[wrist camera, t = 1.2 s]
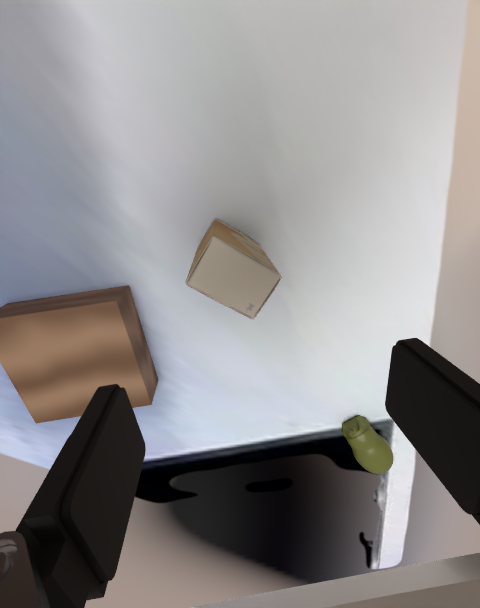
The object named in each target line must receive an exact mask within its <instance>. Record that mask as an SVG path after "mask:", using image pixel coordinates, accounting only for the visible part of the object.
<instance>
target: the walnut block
mask: <svg viewBox="0 0 480 608" xmlns="http://www.w3.org/2000/svg"><path fill="white" fill-rule="evenodd" d="M0 363H1V364H2V366H3V368H4V370H5V371H6V373H7V375H8V376H9V378H10V380H11V382H12V383H13V385H14V387H15V388H16V390H17V392H18V394H19V395H20V397H21V399H22V400H23V402H24V404H25V406H26V407H27V409H28V411H29V412H30V414H31V416H32V418H33V419H34V421H35V423H41V422H47V421H53V420H60V419H66V418H72V417H78V416H82V415H83V413H84V411H85V409H86V407H87V406H88V404H89V402H90V400H91V399H92V397H93V395H94V393H95V391H96V390H97V388H98V387H100V386H106V385H112V384H118V385H119V386H120V388H122V387H124V388H125V390H126V392H127V395H128V398H129V400H130V403H131V406H132V408H134V407H140V406H147V405H151V404H152V401H153V397H154V394H155V390H156V386H157V383H158V378H157V374H156V371H155V368H154V365H153V361H152V358H151V355H150V352H149V348H148V345H147V342H146V339H145V335H144V332H143V329H142V326H141V323H140V319H139V316H138V313H137V310H136V306H135V303H134V300H133V297H132V293H131V290H130V287H129V286H122V287H115V288H109V289H102V290H95V291H88V292H82V293H75V294H68V295H62V296H55V297H48V298H41V299H35V300H28V301H21V302H14V303H8V304H6V305H4V306H2V307H1V308H0Z"/></svg>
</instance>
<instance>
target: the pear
mask: <svg viewBox="0 0 480 608" xmlns="http://www.w3.org/2000/svg"><path fill="white" fill-rule="evenodd" d="M342 428H343V429H342V433H343V435H344V436H345V437H346V439H347V441H348V443H349V444H350V446H351V447H352V450H353V454H354V456H355V458H356V459H357V461H358V462H359V463H360V464H361V465H362V466H363V467H364V468H365V469H367V470H368V471H370V472H372V473H377V474H379V473H384V472H386V471H388V470H389V469H390V468H391V466H392V464H393V453H392V450H391V448H390V446H389V444H388V443H387V441H386V440H385V439H384V438H383V437H382V436H380V435H379V434H377V433H376V432H375V431H374V429H373V428H372V427H371V426H370V423H369V422H368V420H367V419H366V418H363V417H361V416H356V417H355V418H353V419H351V420H348V421H347V422H345V423H343V424H342Z"/></svg>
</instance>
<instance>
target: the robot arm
mask: <svg viewBox="0 0 480 608" xmlns="http://www.w3.org/2000/svg"><path fill="white" fill-rule="evenodd" d="M385 406H386V410H387V412H388V414H389V415H390V417H391V418H392V419H393V420H394V422H395V423H396V424H397V426H398V427H399V428H400V430H401V431H402V432H403V433H404V435H405V436H406V437H407V439H408V440H409V441H410V442H411V444H412V445H413V446H414V448H415V449H416V450H417V451H418V453H419V454H420V455H421V457H422V458H423V459H424V460H425V462H426V463H427V464H428V466H429V467H430V468H431V469H432V471H433V472H434V473H435V475H436V476H437V477H438V479H439V480H440V481H441V482H442V484H443V485H444V486H445V488H446V489H447V490H448V491H449V493H450V494H451V495H452V497H453V498H454V499H455V500H456V502H457V503H458V504H459V506H460V507H461V508H462V509H463V510H464V511H465V512H466V513H468V514H472V516H473V517H474V518H475V519H476V521H477V522H478V523H479V524H480V384H479V383H478V382H476V381H475V380H474V379H472V378H471V377H470V376H468V375H467V374H465V373H464V372H463V371H461V370H460V369H459V368H457V367H456V366H454V365H453V364H452V363H451V362H449V361H448V360H446V359H445V358H444V357H442V356H441V355H440V354H438V353H437V352H436V351H434V350H433V349H432V348H430V347H429V346H428V345H426V344H425V343H424V342H422V341H421V340H419V339H417V338H411V339H405V340H399V341H398V342H397V343H396V345H395V346H393V348H392V354H391V362H390V370H389V378H388V386H387V394H386V401H385ZM144 457H145V442H144V439H143V437H142V434H141V431H140V428H139V425H138V423H137V420H136V417H135V414H134V412H133V409H132V406H131V403H130V400H129V398H128V395H127V392H126V390H125V388H124V387H122V388H120V386H119V385H118V384H112V385H106V386H100V387H98V388H97V390H96V391H95V393H94V395H93V397H92V399H91V400H90V402H89V404H88V406H87V407H86V409H85V411H84V413H83V415H82V416H81V418H80V420H79V422H78V423H77V425H76V427H75V429H74V430H73V432H72V434H71V435H70V436H69V438H68V439H67V441H66V443H65V444H64V446H63V448H62V450H61V451H60V453H59V455H58V457H57V458H56V460H55V462H54V464H53V465H52V467H51V469H50V471H49V473H48V474H47V476H46V478H45V480H44V481H43V484H42V485H41V487H40V488H39V490H38V492H37V494H36V496H35V497H34V499H33V501H32V502H31V504H30V506H29V508H28V509H27V511H26V513H25V515H24V517H23V518H22V520H21V522H20V524H19V525H18V527H17V529H16V531H8V532H3V533H0V608H84V606H85V603H86V600H91V599H96V598H102V597H104V594H105V591H106V587H107V583H108V581H110V580H112V579H113V577H114V576H115V573H116V570H117V565H118V562H119V558H120V554H121V550H122V546H123V542H124V537H125V533H126V529H127V525H128V521H129V517H130V513H131V509H132V505H133V501H134V497H135V493H136V489H137V485H138V481H139V477H140V473H141V469H142V465H143V461H144ZM191 608H480V553H476V554H471V555H465V556H460V557H455V558H449V559H444V560H438V561H432V562H427V563H421V564H416V565H410V566H405V567H399V568H394V569H389V570H384V571H379V572H373V573H368V574H362V575H357V576H352V577H346V578H341V579H336V580H330V581H325V582H320V583H315V584H309V585H304V586H299V587H293V588H288V589H283V590H278V591H272V592H267V593H262V594H257V595H252V596H247V597H241V598H236V599H231V600H226V601H221V602H216V603H211V604H206V605H200V606H195V607H191Z"/></svg>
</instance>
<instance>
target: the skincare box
mask: <svg viewBox="0 0 480 608" xmlns="http://www.w3.org/2000/svg"><path fill="white" fill-rule="evenodd" d="M281 278H282V277H281V275H280V274H279V272H278V271H277V270H276V268H275V267H274V265H273V264H272V262H271V261H270V259H269V258H268V256H267V255H266V254H265V252H264V251H263V249H262V248H261V246H260V245H259V244H257V243H256V242H254V241H253V240H251V239H250V238H248V237H247V236H245V235H244V234H242V233H241V232H239V231H237V230H236V229H234V228H232V227H230V226H229V225H227V224H225V223H223V222H222V221H220V220H218V219H216V218H215V219H214V221H213V222H212V224H211V226H210V227H209V229H208V231H207V232H206V234H205V236H204V238H203V239H202V241H201V243H200V245H199V247H198V249H197V252H196V254H195V257H194V260H193V263H192V266H191V268H190V271H189V274H188V277H187V279H186V285H187V286H189V287H191V288H193V289H195V290H197V291H198V292H200V293H202V294H204V295H206V296H208V297H210V298H212V299H213V300H215V301H217V302H219V303H221V304H223V305H225V306H227V307H229V308H231V309H233V310H235V311H237V312H239V313H241V314H243V315H245V316H247V317H248V318H250V319H254V318H255V317H256V315H257V314H258V312H259V311H260V310H261V308H262V307H263V305H264V304H265V303H266V301H267V300H268V298H269V297H270V295H271V294H272V292H273V291H274V289H275V288H276V286H277V284H278V283H279V281H280V280H281Z"/></svg>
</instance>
